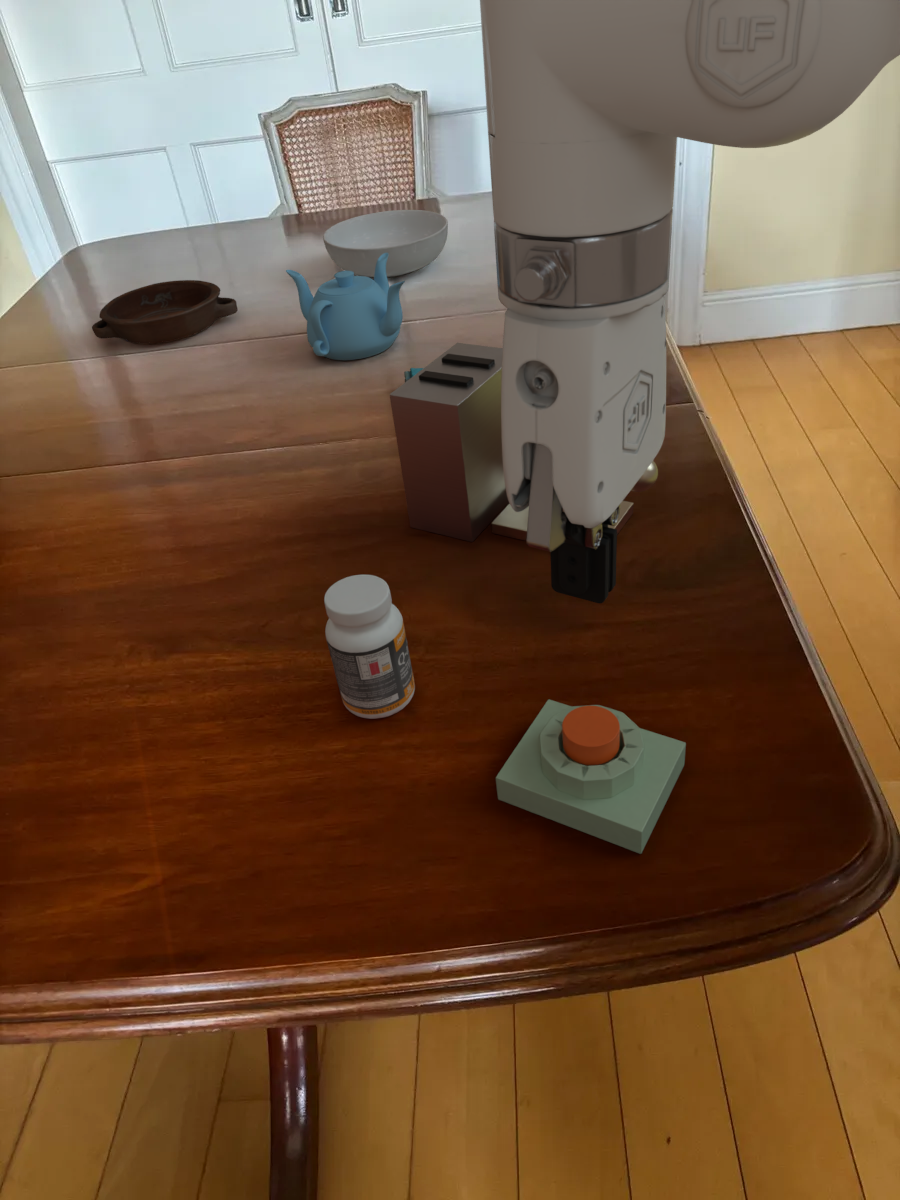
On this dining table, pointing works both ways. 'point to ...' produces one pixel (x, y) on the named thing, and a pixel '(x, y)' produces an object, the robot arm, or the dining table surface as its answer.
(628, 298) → the robot arm
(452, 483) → the toaster
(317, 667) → the dining table surface
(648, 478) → the lever
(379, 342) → the teapot
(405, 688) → the pill bottle
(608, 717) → the timer button
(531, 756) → the timer block
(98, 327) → the dish
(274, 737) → the dining table surface
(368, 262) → the serving bowl
